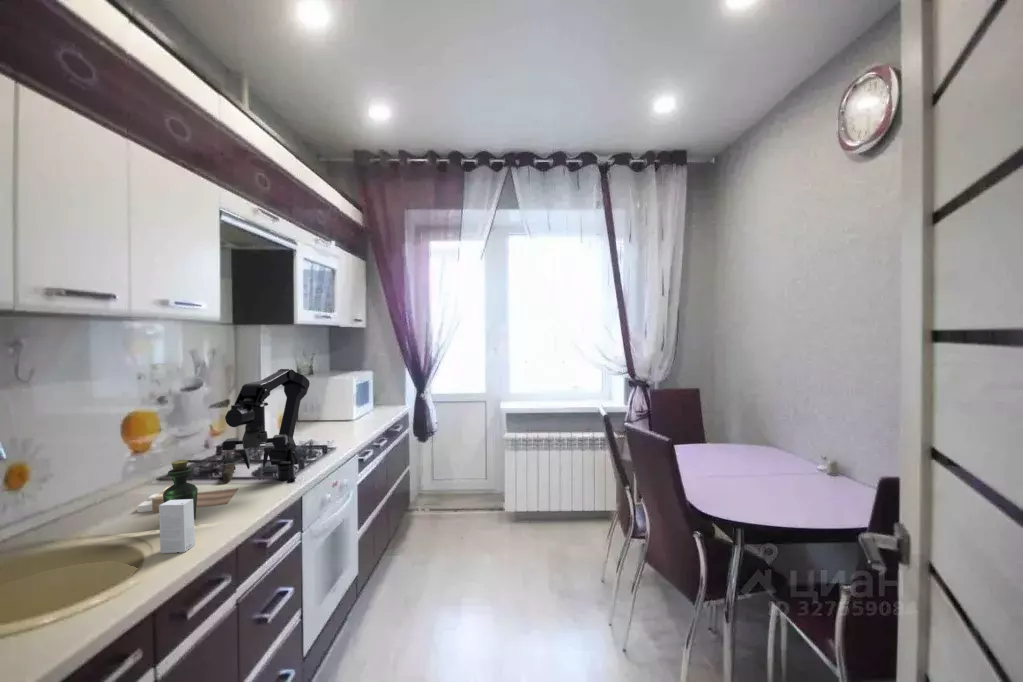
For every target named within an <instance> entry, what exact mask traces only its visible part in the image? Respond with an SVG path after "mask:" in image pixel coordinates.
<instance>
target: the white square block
mask: <svg viewBox="0 0 1023 682" xmlns="http://www.w3.org/2000/svg"><path fill="white" fill-rule="evenodd" d="M144 512H153V510H152V501H148V500H147V501H143V502H140V503H139V505H137V513H144Z"/></svg>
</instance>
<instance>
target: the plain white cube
mask: <svg viewBox="0 0 1023 682" xmlns="http://www.w3.org/2000/svg"><path fill="white" fill-rule="evenodd" d="M158 494H159V493H153V494H151V495H150V496H148V498H147V501H152V499H153V498H155V497H156V496H157V495H158Z"/></svg>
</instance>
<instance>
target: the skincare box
mask: <svg viewBox="0 0 1023 682" xmlns="http://www.w3.org/2000/svg"><path fill="white" fill-rule="evenodd" d="M158 514H159V515H158V517H159V521H158V522H159V545H160V546H159V547H160V551H159V552H160V554H175V553H177V552H179V553H186V552H188V551H189V550H190V549H192V548H193V547H194V546H195V545H196V539H195V520H194V508H193V499H184V500H169V501H167V502H165V503H163V504H161V505H159V511H158ZM188 549H189V550H188ZM185 551H186V552H185Z"/></svg>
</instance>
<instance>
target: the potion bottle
mask: <svg viewBox="0 0 1023 682" xmlns="http://www.w3.org/2000/svg"><path fill="white" fill-rule="evenodd" d="M188 463H189V461H188V460H187V459H180V460H179V459H178V460H174V461H172V462H171V466H172V469H170V470H168V472H167V475H166V476H167V477H169V478H171V479H172V482H173V484H171V485H172V486H171V487H169V488H168V489H166V490H165V491H164V493H163V500H164V503H165V502H167V501H169V500H184V499H193V508H194V521H195V520H196V517H197V508H196V505H197V493H199V492H198V491H199V489H198V487H197V486H196V485H195V484H193V483H190V482H187V481H188V477H189V475H191V474H192V473H193V470H192V467H187V466H188Z"/></svg>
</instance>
